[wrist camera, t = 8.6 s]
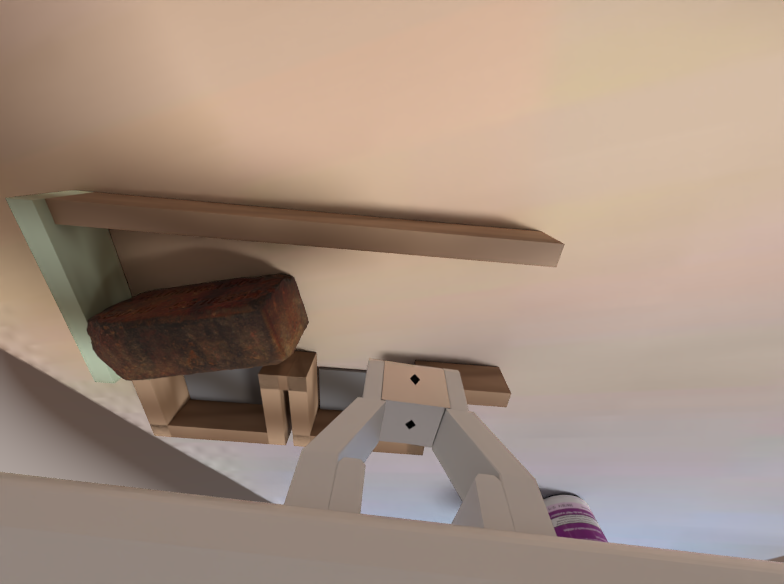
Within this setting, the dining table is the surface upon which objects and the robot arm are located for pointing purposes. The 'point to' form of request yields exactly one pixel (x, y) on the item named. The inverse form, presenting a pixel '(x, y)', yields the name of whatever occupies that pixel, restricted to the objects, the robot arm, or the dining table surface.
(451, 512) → the dining table surface
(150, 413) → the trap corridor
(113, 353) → the brick
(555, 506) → the pill bottle
